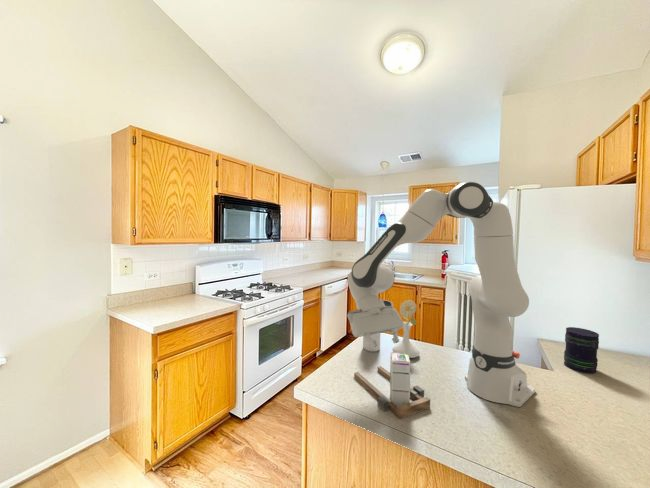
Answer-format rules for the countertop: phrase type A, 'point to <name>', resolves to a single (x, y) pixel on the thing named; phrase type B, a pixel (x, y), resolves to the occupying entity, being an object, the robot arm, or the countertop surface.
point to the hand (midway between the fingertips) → (386, 344)
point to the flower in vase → (407, 330)
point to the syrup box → (399, 379)
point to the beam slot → (387, 404)
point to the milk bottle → (368, 346)
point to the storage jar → (581, 350)
